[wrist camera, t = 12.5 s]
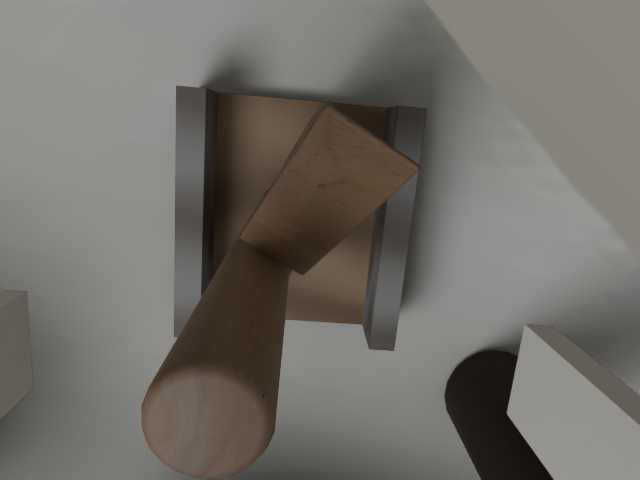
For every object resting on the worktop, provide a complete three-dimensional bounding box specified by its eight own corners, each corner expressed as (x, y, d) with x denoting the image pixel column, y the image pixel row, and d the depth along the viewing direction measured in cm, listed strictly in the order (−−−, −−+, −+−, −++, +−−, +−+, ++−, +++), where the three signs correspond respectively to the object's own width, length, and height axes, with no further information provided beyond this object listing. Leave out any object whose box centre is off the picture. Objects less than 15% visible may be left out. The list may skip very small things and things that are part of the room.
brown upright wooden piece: (365, 144, 28) (466, 181, 11) (273, 286, 30) (231, 511, 13) (314, 110, 28) (332, 90, 10) (223, 257, 30) (108, 452, 12)
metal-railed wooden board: (381, 319, 32) (393, 350, 28) (191, 307, 31) (173, 337, 27) (408, 110, 29) (427, 108, 24) (196, 91, 28) (176, 85, 24)
